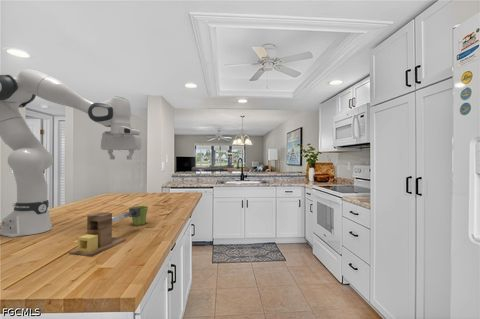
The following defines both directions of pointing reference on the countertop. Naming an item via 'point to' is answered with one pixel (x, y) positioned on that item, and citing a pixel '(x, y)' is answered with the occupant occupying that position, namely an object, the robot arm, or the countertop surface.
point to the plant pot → (142, 217)
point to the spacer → (87, 243)
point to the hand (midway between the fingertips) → (120, 159)
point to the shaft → (127, 214)
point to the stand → (100, 233)
